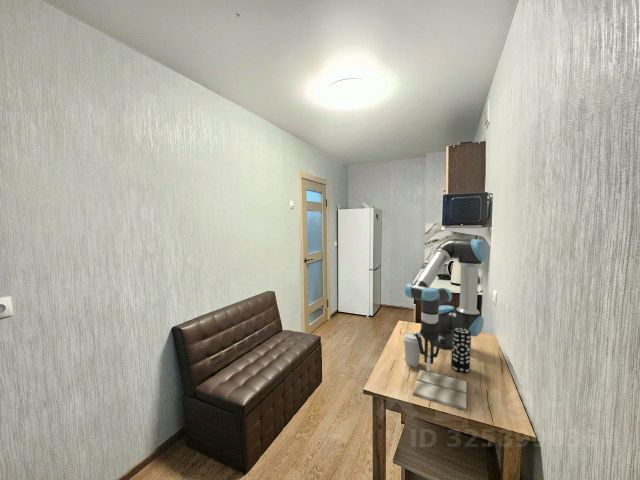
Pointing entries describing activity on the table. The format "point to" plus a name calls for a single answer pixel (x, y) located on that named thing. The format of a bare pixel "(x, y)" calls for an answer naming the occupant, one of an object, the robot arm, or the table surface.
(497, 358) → the table surface
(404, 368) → the table surface
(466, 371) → the spotted tube
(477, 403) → the table surface
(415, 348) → the coffee cup
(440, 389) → the laid board
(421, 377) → the plank
